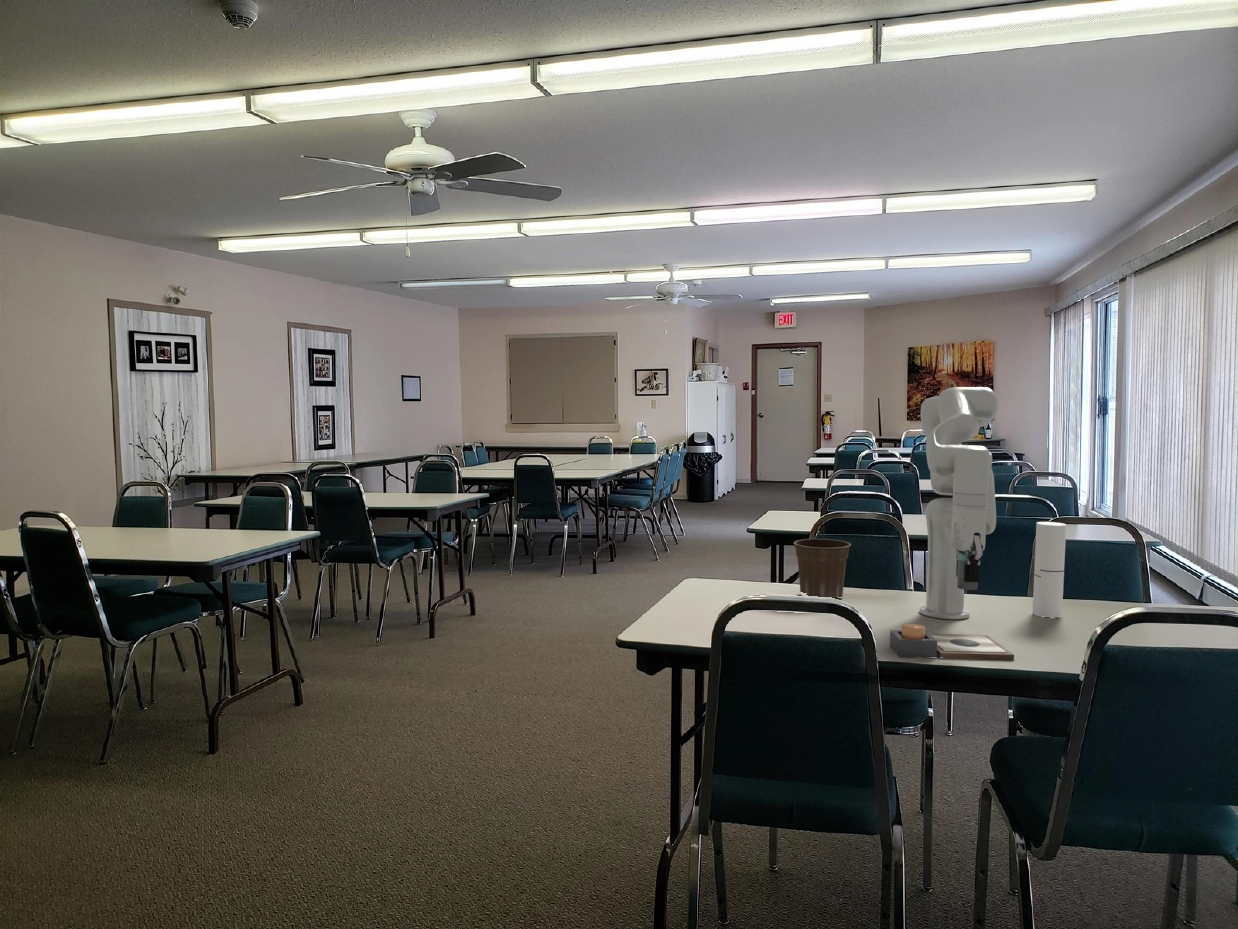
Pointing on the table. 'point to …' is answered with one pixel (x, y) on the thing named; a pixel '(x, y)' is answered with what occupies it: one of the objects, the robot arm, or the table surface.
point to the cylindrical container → (1049, 569)
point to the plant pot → (822, 566)
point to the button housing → (913, 645)
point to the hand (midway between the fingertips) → (967, 578)
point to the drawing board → (970, 647)
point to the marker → (960, 574)
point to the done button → (913, 631)
